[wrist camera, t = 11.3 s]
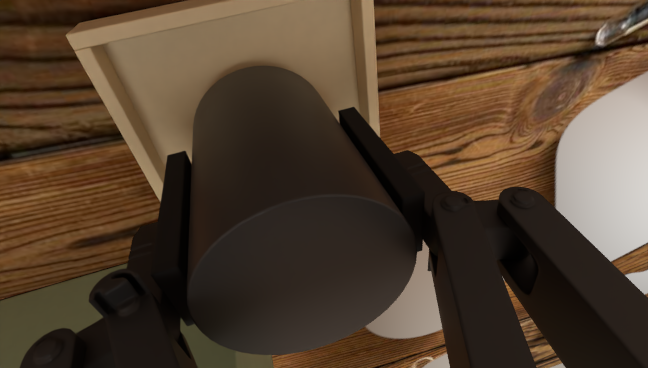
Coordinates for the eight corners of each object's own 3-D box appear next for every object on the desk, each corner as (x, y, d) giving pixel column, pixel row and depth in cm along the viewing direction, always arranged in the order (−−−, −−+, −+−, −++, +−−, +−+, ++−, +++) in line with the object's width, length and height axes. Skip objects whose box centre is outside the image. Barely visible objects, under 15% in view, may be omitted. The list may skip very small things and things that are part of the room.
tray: (78, 22, 15) (63, 34, 13) (356, -35, 16) (372, -31, 15) (188, 228, 22) (187, 251, 21) (371, 175, 24) (383, 193, 22)
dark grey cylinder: (169, 84, 16) (139, 244, 8) (317, 50, 17) (421, 163, 9) (219, 200, 20) (231, 378, 12) (335, 167, 21) (415, 314, 13)
